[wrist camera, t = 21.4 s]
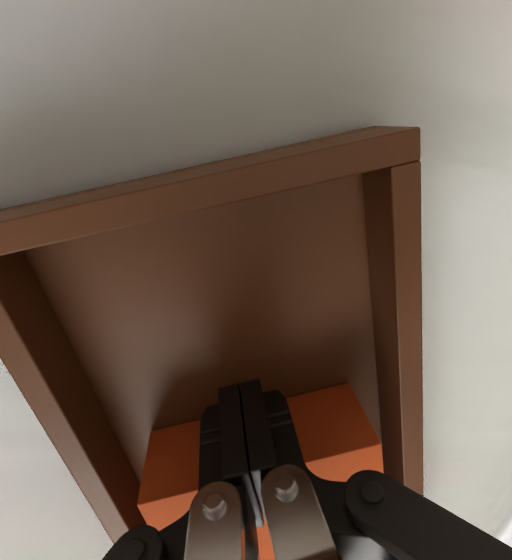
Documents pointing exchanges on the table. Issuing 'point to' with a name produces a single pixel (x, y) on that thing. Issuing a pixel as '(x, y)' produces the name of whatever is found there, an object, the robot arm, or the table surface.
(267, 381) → the brown wooden tray
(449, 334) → the table surface
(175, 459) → the rust pad
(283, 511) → the robot arm
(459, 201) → the table surface
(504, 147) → the table surface
